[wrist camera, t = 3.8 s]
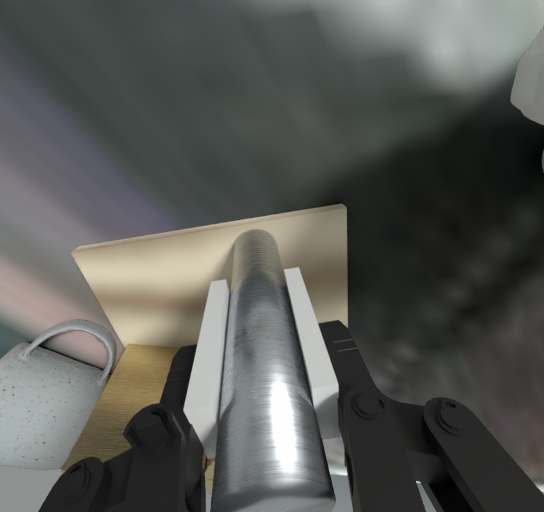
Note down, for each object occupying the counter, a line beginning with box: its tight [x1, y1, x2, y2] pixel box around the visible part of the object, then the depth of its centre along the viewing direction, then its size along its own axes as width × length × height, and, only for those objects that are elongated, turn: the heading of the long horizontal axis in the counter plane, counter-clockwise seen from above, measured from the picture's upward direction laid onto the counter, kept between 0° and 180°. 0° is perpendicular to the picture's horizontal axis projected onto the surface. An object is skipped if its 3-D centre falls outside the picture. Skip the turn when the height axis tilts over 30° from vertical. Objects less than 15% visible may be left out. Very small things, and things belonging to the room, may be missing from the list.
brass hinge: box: [62, 344, 215, 495], centre depth 22 cm, size 15×14×9 cm
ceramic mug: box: [0, 320, 116, 470], centre depth 20 cm, size 11×8×8 cm
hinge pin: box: [210, 229, 336, 512], centre depth 12 cm, size 3×3×14 cm
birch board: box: [71, 204, 348, 349], centre depth 24 cm, size 24×19×1 cm
